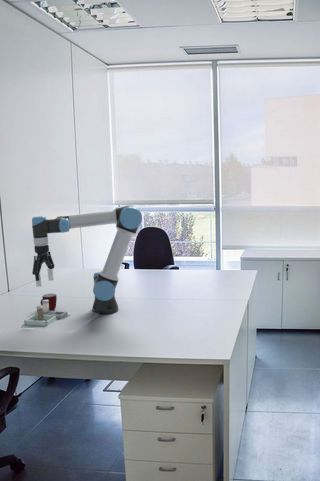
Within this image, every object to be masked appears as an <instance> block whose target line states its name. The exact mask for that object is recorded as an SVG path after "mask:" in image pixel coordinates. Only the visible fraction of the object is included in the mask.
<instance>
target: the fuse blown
mask: <svg viewBox="0 0 320 481" xmlns="http://www.w3.org/2000/svg"><path fill="white" fill-rule="evenodd" d="M36 315H37V318H38V319H36V321H45V320H44V316H43V306H41V305H37V306H36Z"/></svg>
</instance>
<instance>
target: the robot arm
mask: <svg viewBox="0 0 320 481" xmlns="http://www.w3.org/2000/svg"><path fill="white" fill-rule="evenodd" d="M142 221H143V215H142V212H141V211H140V209H139V208H138V207H136V206H134V205H131V204H130V205H124V206H121V207H115V208H113V209H111V210H105V211H96V212H89V213H88V212H87V213H79V214H73V215H64V216H63V215H61V216H60V215H59V216H57V217H55V218H54V219H47V218H46V216H45V215H39V216H34V217H32V218H31V227H32V234H33V235H32V236H33V244H34V253H36V254H37V255H34V256H33V265H32V267H33V268H32V272H31V274H32V275H34V276H35V277H34V278H35V286H36V287H40V288H41V287H43V286H42V278H41V277H42V276H41V270H42V265H44V263H45V265H46V267H47V279H48V281H49V282H50V281H51V282H52V281H53V282H54V272H53V271H54V270H53V269H55V263H54V261H53V257H52V254H51V251H50V247H49V246H50V245H49V237H48V236H49V235H48V234H57V233H63V234H64V233H69V232H70V229H71V230H73V229H78V228H79V229H81V228H87V227H88V228H89V227H90V228H91V227H96V226H105V225H114V224H115V228H116V233H115V236H114V239H113V241H112V244H111V246H110V249H109V252H108V255H107V258H106V261H105V263H104V265H103V267H102V268H103V269H102V270H101V271H99V272H94V273H93V290H92V292H93V295H94V300H93V304H92V312H93V313H98V314H99V315H107V314H113V313H116V312H118V311H119V305H118V302H117V300H116V296H115V294H116V288H117V285H118V283H119V280H120V279H119V277H118V275H119V271H120V269H121V267H122V264H123V261H124V258H125V257H126V254H127V251H128V248H129V245H130V242H131V240H132V237H133V236H134V235H136V234H137V232H138V229H139V226H140V225H141V224H142Z"/></svg>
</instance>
